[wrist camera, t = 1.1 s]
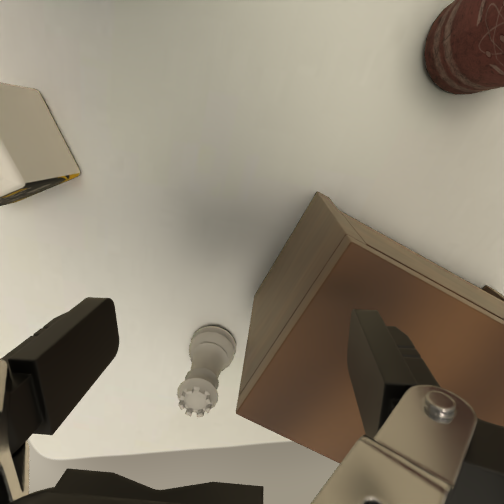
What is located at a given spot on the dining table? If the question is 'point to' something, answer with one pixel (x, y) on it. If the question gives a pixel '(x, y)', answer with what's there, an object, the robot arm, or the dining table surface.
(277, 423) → the shelf
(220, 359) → the rook chess piece
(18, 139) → the medicine bottle
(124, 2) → the dining table surface
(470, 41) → the can
